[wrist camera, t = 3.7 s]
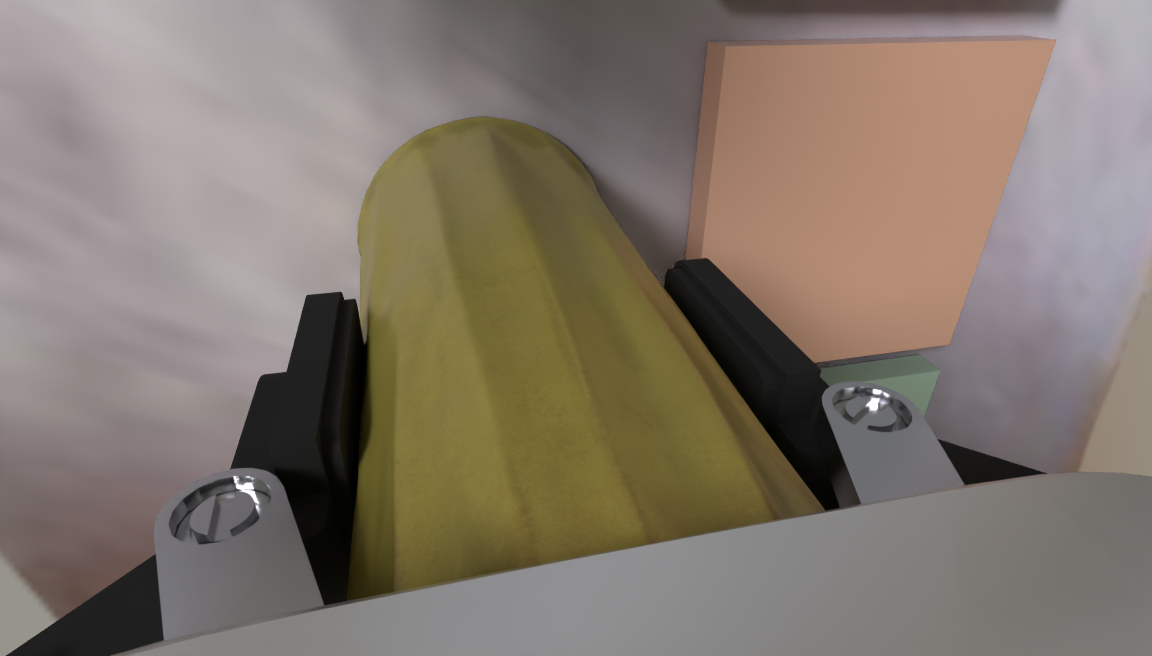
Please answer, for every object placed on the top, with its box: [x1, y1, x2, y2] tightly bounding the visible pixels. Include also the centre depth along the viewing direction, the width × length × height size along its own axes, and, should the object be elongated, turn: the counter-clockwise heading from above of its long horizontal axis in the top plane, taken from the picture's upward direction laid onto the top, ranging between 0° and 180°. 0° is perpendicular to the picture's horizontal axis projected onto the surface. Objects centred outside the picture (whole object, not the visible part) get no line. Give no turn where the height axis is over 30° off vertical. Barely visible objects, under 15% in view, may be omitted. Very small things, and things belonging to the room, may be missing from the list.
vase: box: [347, 117, 825, 601], centre depth 10 cm, size 6×6×14 cm
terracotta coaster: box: [685, 36, 1056, 363], centre depth 18 cm, size 9×9×1 cm
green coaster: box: [820, 355, 940, 416], centre depth 23 cm, size 9×9×1 cm
